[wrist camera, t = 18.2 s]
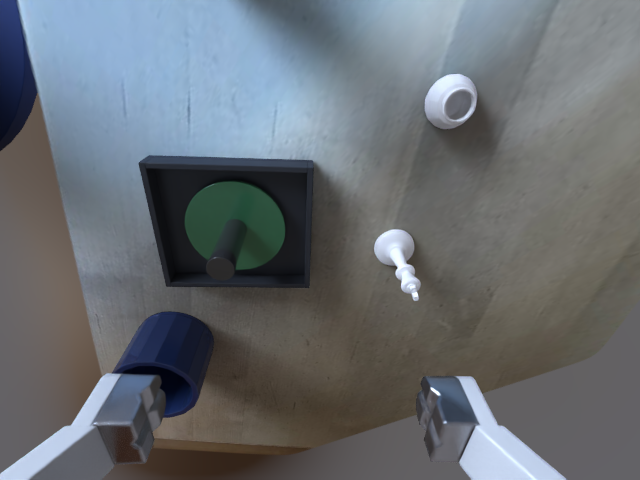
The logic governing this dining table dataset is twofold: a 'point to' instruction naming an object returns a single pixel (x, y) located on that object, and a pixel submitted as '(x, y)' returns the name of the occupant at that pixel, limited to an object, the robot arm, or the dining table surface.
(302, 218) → the tray
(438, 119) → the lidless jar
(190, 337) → the pot
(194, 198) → the lid
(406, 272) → the chess piece
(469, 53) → the dining table surface
